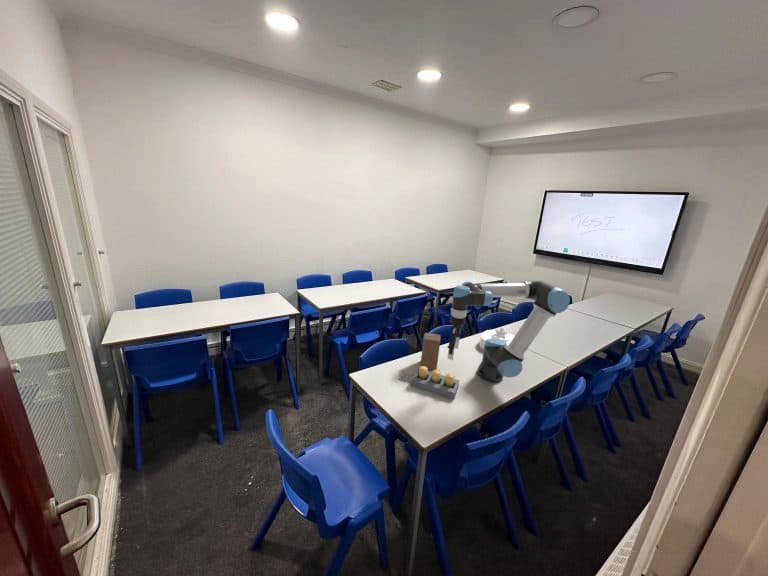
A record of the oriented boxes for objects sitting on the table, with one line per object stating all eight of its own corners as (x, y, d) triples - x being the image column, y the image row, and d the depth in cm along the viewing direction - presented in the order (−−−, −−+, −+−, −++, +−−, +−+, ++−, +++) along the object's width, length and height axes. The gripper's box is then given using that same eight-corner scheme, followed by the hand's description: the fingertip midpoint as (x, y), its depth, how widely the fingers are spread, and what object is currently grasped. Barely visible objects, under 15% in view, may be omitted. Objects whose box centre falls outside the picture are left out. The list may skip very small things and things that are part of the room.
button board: (458, 386, 168) (459, 380, 167) (454, 399, 156) (455, 393, 155) (417, 374, 177) (418, 368, 176) (410, 386, 165) (411, 380, 164)
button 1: (454, 382, 164) (455, 374, 162) (452, 387, 160) (453, 379, 158) (445, 380, 165) (447, 372, 164) (444, 384, 161) (445, 376, 160)
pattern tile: (414, 376, 174) (414, 375, 174) (410, 382, 168) (410, 381, 168) (403, 373, 177) (403, 372, 177) (399, 379, 171) (399, 378, 171)
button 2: (440, 378, 167) (441, 371, 165) (438, 383, 162) (439, 375, 161) (432, 376, 168) (433, 368, 167) (430, 380, 164) (431, 372, 163)
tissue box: (487, 336, 233) (490, 317, 229) (520, 346, 219) (525, 326, 215) (475, 347, 214) (479, 327, 209) (512, 360, 200) (516, 338, 195)
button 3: (427, 375, 169) (428, 367, 168) (425, 379, 165) (426, 371, 164) (420, 372, 171) (420, 365, 170) (417, 376, 167) (418, 369, 165)
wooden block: (436, 371, 182) (440, 341, 176) (420, 368, 183) (423, 338, 177) (437, 362, 191) (440, 334, 185) (421, 360, 193) (424, 331, 187)
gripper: (455, 307, 163) (450, 342, 170) (445, 322, 142) (440, 362, 148) (469, 309, 161) (464, 345, 167) (461, 326, 139) (455, 366, 145)
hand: (452, 353), depth 157 cm, fingers open, 13 cm apart
